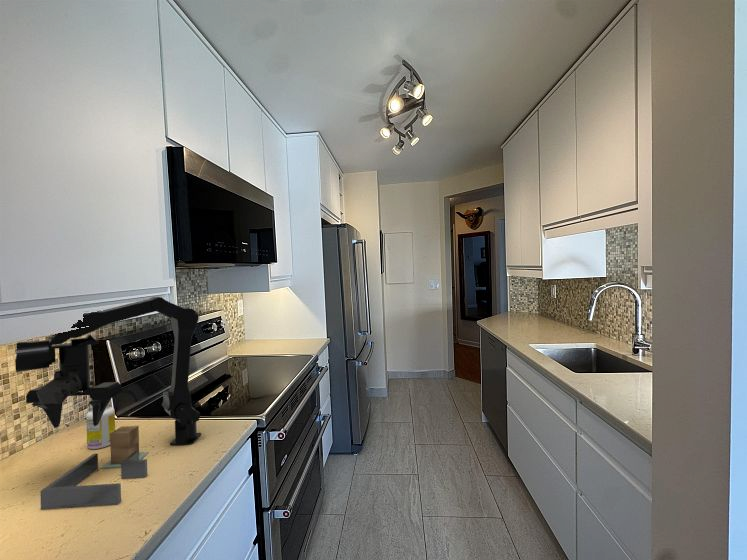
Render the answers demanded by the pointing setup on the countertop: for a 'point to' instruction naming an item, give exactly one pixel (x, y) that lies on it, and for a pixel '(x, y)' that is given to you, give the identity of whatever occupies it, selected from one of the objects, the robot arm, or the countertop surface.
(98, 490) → the bent rails
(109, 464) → the mat
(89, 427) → the supplement bottle
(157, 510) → the countertop surface
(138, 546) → the countertop surface
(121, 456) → the walnut block
